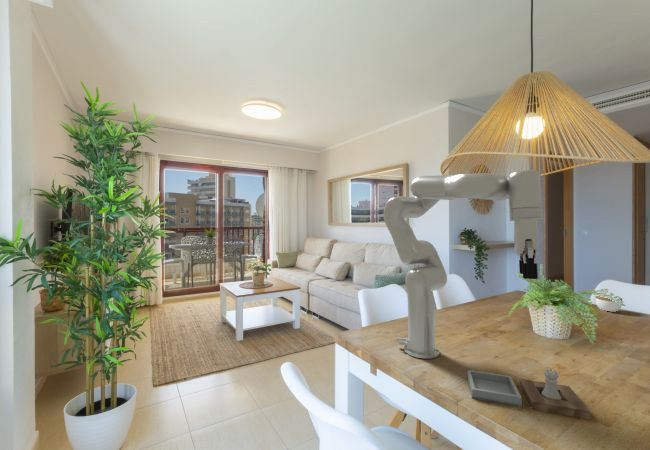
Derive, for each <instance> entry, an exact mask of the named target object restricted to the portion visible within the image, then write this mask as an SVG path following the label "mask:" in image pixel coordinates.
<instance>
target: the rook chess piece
mask: <svg viewBox="0 0 650 450" xmlns="http://www.w3.org/2000/svg"><path fill="white" fill-rule="evenodd" d="M543 375H544V377H545V378H544V381H545V388H544V389H543V391H542V394H541V396H542V397H545V398H551V399H557V400H561V396H560V395H559V392H558V389H557V384H558V379H559V377H560V376H559V374H558V372H557V371H556V370H554V369H553V370H552V369H550V368H546V369H545V370H544V372H543Z"/></svg>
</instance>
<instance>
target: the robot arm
mask: <svg viewBox="0 0 650 450" xmlns="http://www.w3.org/2000/svg"><path fill="white" fill-rule="evenodd" d="M409 188H410V192H411V194H412V195H413V196H404V195H400V196H399V195H398V196H394V197H391V198H390V199H388V200H387V201H386V203H385V204H384V209H383V220H384V221H383V222H384V223H385V226H386V228H387V230H388V231H389V233H390V236H391V238H392V241H393V243H394V246H395V249H396V251H397V254H398V256H399V259H400V260H401V262H402V263H403V264H404V265H406V266H416V265H419V266H418V267H417V266H416V267H413V268H411V269H409V270H408V271H407V273H406V274H405V276H404V277H405V279H404V281H405V289H406V293H407V295H406V296H407V331H408V333H407V337H406V336H404V337H399V336H396V338H395V339H396V340H395V341H396V343H398V344H399V345H401V346H404V347H403V350H404V352H405V353H406V354H407V355H409V356H411V357H413V358H418V359H426V360H427V359H428V360H429V359H435V358H437V357H439V356H440V349H439V348H438V347H437V346H436V327H435V325H436V324H435V323H436V318H435V317H436V311H435V310H436V309H435V308H436V307H435V300H434V298H433V297H434V296H433V295H432V292H433V291H439V290H441V289H443V288H444V287H446V285H447V283H448V282H447V281H448V275H447V272H446V269H445V267H444V265H443V263H442V260H441V258H440V256H439V253H438V251H437V250H436V249H437V248H436V247H435V246H434V245H433V244H432V242H430V241H427V240H423V239H422V240H421V239H420V240H419V239H418V238H417V237H416V235H415V233H414V230H413V228H412V227H411V225H410V224H409V223H408V221H406V219H416V218H417V219H418V218H420V217H422V216H424V215H425V214H427V212H428V211H430V209H432V208H433V207H434V206H435V205H436V204H437V203H438V202H440V201H442V200H443V201H444V200H445V201H454V200H455V199H472V200H474V199H476V200H477V199H478V200H490V201H506V200H508V205H509V221H511V222H513V239H514V240H513V241H514V243H513V244H514V246H513V247H514V254H515V255H516V256H517V257H519V260H518V261H519V263H518V268H519V274H520V275H522V278H523V280H524V279H525V280H526V279H527V280H537V279H538V278H539V276H538V275H539V274H538V263H537V258H536V256H538V255H539V231H538V228H539V227H538V221H539V220H543V207H542V189H541V188H542V186H541V174H540V172H539V171H537V170H534V169H525V170H518V171H514V172H512V173H510V174H509V175H500V174H497V173H489V172H482V173H481V172H477V173H473V172H472V173H458V174H444V175H439V174H438V175H422V176H421V175H420V176H417V177H415V178H414V179H413V180H412V182H411V183H410V187H409ZM405 218H406V219H405Z"/></svg>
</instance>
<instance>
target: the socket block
mask: <svg viewBox="0 0 650 450" xmlns="http://www.w3.org/2000/svg"><path fill="white" fill-rule="evenodd" d="M518 380H519V381H518V382H519V383H518V385H519V387H520V390H521V393H523V395H524V398H525V399H526V401H527V402H528V405H529V407H530V408H531V410H534V411H539V412H546V413H551V414H556V415H562V416H569V417H573V418H580V419H585V420H591V411H590V409H589V408H588V407H587V406H586V404H585V403H584V402H583V400H581V399H580V397H579V396H578V395H577V394H576V393H575V391H574V390H573V389H572V388H571V386H570V385H563V384H558V383H557V389H558V392H559V395H560V396H561V400H557V399H551V398H545V397H542V391H543V389H544V388H545V383H546V381H545V382H543V381H538V380H537V381H535V380H530V379H524V378H519V379H518Z"/></svg>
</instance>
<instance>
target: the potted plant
mask: <svg viewBox="0 0 650 450" xmlns="http://www.w3.org/2000/svg"><path fill="white" fill-rule="evenodd" d="M594 297H595V303H596V307H597V308H598V309H600V310H601V309H602V310H606V311H615V312H616V311H617V312H619V311H620V310H621V308H622V306H621V305H619V304H618V303H616V302H615V301H612V300H610V299H608V298H604V297H600V296H594ZM617 297H618V298H619V299H620V300H621V301H622V302H623V297H621V296H620V297H619V296H617ZM602 310H601V311H602ZM617 312H616V313H617Z"/></svg>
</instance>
